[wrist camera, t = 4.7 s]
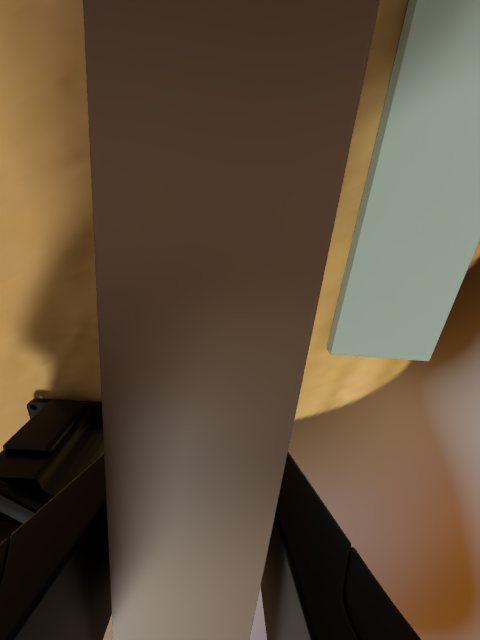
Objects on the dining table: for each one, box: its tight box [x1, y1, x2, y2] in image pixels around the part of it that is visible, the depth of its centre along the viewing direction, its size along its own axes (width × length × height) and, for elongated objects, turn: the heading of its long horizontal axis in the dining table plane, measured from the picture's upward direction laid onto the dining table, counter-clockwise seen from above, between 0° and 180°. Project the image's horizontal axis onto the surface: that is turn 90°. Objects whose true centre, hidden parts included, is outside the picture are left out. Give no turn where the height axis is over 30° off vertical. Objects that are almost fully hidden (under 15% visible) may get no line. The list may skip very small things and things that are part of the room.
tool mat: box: [327, 0, 480, 361], centre depth 14 cm, size 22×7×1 cm, turn 175°
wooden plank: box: [83, 0, 380, 640], centre depth 6 cm, size 20×2×5 cm, turn 174°
